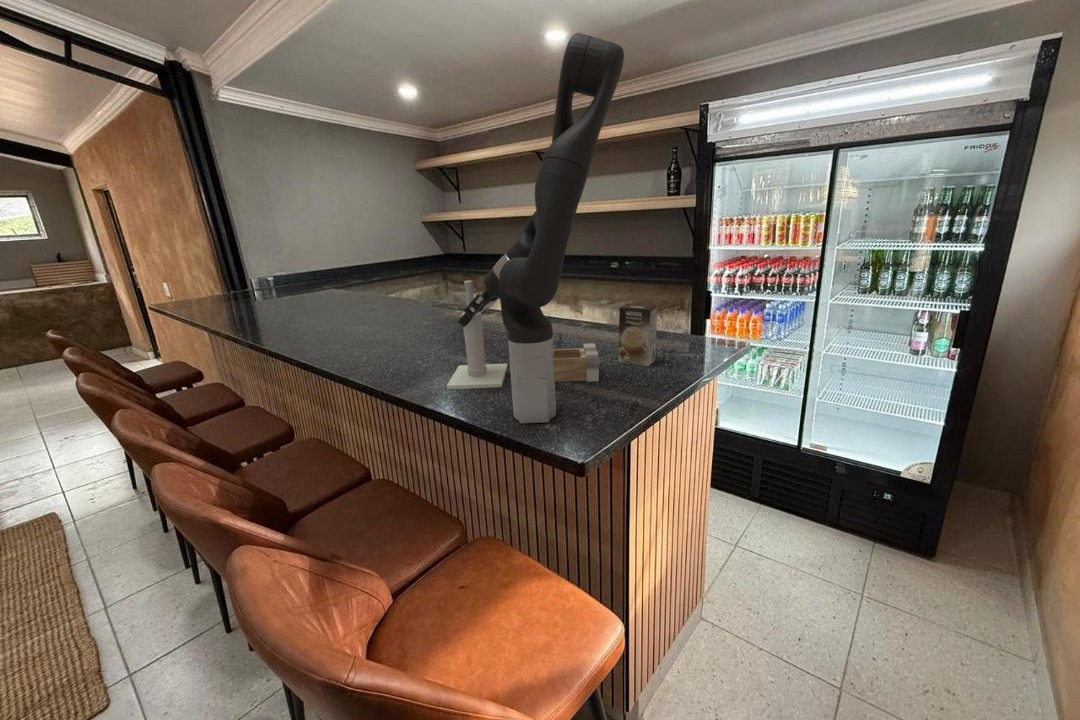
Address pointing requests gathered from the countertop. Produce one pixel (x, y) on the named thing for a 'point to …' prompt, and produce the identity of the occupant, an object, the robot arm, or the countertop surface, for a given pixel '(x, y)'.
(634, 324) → the coffee box
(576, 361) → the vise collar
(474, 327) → the bottle
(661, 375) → the countertop surface
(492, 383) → the sage board
